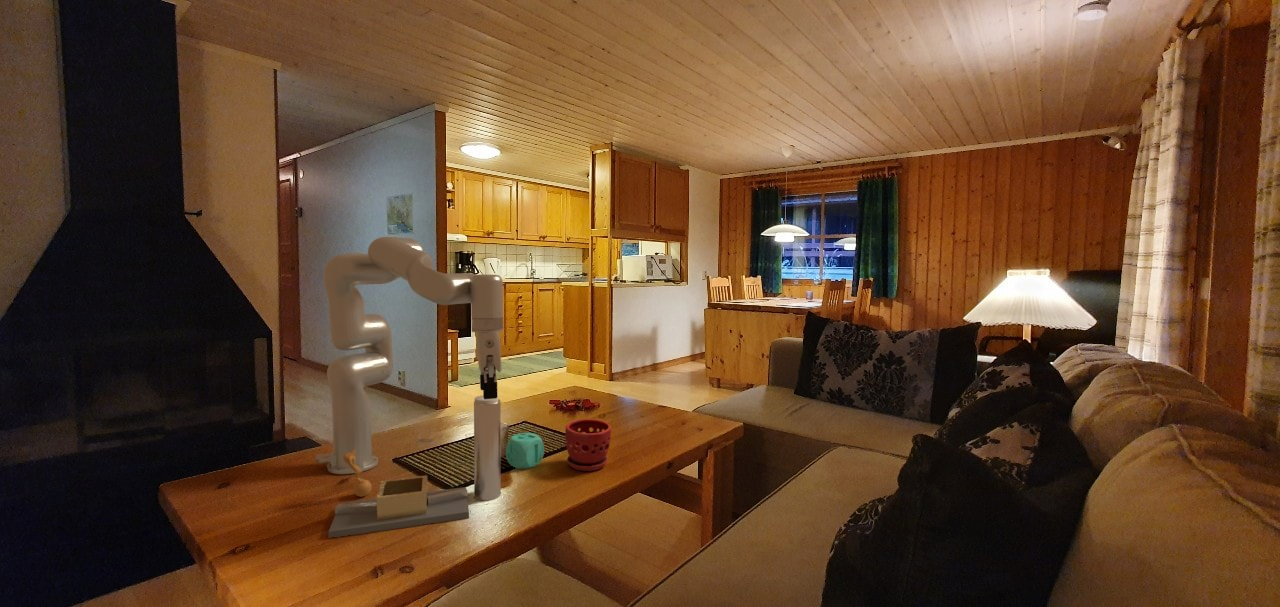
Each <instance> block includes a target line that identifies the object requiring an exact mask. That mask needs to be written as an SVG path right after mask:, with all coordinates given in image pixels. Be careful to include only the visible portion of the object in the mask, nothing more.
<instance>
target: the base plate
mask: <svg viewBox="0 0 1280 607" xmlns="http://www.w3.org/2000/svg"><path fill="white" fill-rule="evenodd" d="M464 488H466V489H467V487H465V486H464V487H456V488H448V489H441V490H433V491H427V496H430V495H435V494H440V493H445V492H449V491H454V490H459V489H464ZM375 502H377V497H376V498H370V499H363V500H362V499H361V500H355V501H354V500H353V501H346V502H345V501H344V502H340V503H339V504H354V503H375ZM469 510H470V509H469V502H468V496H467V497H465V498H460V499H456V500H451V501H447V502H442V503H437V504H433V505H428V504H427V514H422V515H415V516H407V517H400V518H393V519H386V520H379V521H377V512H374V513H354V514H335V513H334V517H333V520H332V522H331V525H330V526H329V527H330V528H329V530H328V539H329V538H330V539H332V538H331V537H337V538H342V537H341V536H344V537H349V536H348V535H351V536H355V535H364V534H368V533H369V534H370V533H376V532H377V533H378V532H384V531H390V530H397V529H403V528H405V529H406V528H410V527H419V526H424V525H425V524H426V525H432V524H431V523H433V524H437V523H438V524H439V523H444V522H446V523H447V522H452V521H458V520H467V519H469V518H470V511H469ZM423 524H424V525H423ZM418 525H419V526H418Z"/></svg>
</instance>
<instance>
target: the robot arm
mask: <svg viewBox="0 0 1280 607" xmlns="http://www.w3.org/2000/svg"><path fill="white" fill-rule="evenodd" d="M433 266H434V264H433V260H432V257H431V256H430V255H429V254H428V253H427V252H425V251H424V248H423V246H422V245H421V243H420V242H418V241H417V240H415V239H413V238H409V237H397V236H382V237H378V238H376V239H374V240H372V242H370V244H369V245H368V248H367V253H356V252H355V253H354V252H353V253H351V252H350V253H343V254H338V255H334V256H333V257H331V258H330V259H329V260H328V261H327V262H326V264H325V266H324V269H323V275H322V277H323V278H322V279H323V285H324V288H325V292H326V296H327V300H328V301H327V302H328V309H329V310H328V312H329V325H330V326H329V327H330V338H331V342H332V345H333V347H334V348H335V349H337V350H340V351H354V350H360V349H361V350H362V349H364V350H365V352H361V353H353V354H349V355H344V356H341V357H337V358H336V359H334V360H333V361H331V362H330V364H329V365H328V367H327V370H326V377H327V382H328V385H329V390H330V395H331V406H332V408H331V410H332V441H333V447H332V448H333V450H332V451H331V452H329V453H325V454H324V453H322V454H319V453H318V454H316V455H315V462H316V463H317V462H318V464H326V463H328V464H327V465H326V466H327V471H328V472H329V473H331V474H333V475H350V474H355V473H356V472H354V471H353V469H352V468H351V467H349V465H348V464H347V463H346V462H345V461H344V459H343V456H344V455H345V454H347V453H349V452H351V451H352V450H355V452H356V454H355V465H357V466H358V467H359V468H361V471H362V472H365V471H368V470H370V469H371V470H372V469H373V468H374V467H376V466H377V465H378V463H379V458H378V456H376V455H375V454H373V446H372V444H373V442H372V440H373V439H372V435H373V434H372V403H371V399H370V398H369V396H368V394H367V392H366V391H365V389H364V388H365V387H369V386H373V385H376V384H379V383H383V382H385V381H387V380H388V379H390V377H391V375H392V372H393V368H394V358H393V343H392V339H393V338H392V331H391V327H390V324H389V322H388V321H387V320H386V318H385V317H383V316H382V315H380V314H376V313H366V312H365V303H364V301H365V300H364V298H363V297H362V294H361V293H360V291H359V290H358V289H357V287H356V286H358V285H361V286H362V285H385V284H389V283H392V282H393V281H396V280H398V279H400V278H401V279H403V280H404V281H406V282H407V283H408V285H409V287H410V289H411V291H413V292H414V293H415V294H416V295H417V296H420V297H422V298H423V299H425V300H427V301H430V302H432V303H435V304H437V305H441V306H449V305H458V304H459V305H462V304H470V311H471V312H470V317H471V318H470V319H471V320H470V322H471V333H476V352H477V363H478V364H477V365H478V370H479V372H480V374H479V384H480V385H479V386H480V388H479V389H480V391H482V392H483V393H482V396H483V398H484V399H495V398H497V397H498V378H497V372H498V373H500V372H502V354H501V352H502V351H501V350H502V347H501V337H500V332H503V331H504V289H503V288H504V286H503V285H504V284H503V283H504V282H503V279H502V277H501V276H500V275H498V274H476V273H468V272H467V273H466V272H465V273H456V272H455V273H453V272H451V273H450V272H449V273H443V272H441V271H437V270H435V269H434V268H433ZM365 313H366V314H365Z"/></svg>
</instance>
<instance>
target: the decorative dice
mask: <svg viewBox="0 0 1280 607" xmlns="http://www.w3.org/2000/svg"><path fill="white" fill-rule="evenodd" d="M544 454H545V445H544V441H543V440H542V438H541V437H540V435H539V434H536V433H531V432H523V433H521V432H520V433H516V434H514V435H512V436H511V437H510V438H509V439H508V441H507V443H506V446H505V457H506V460H507V462H508V464H509V465H510V466H511V467H512V466H513V468H514V467H515V469H517V470H518V469H519V470H528V469H532V467H533V468H535V467H537V466H538V465H539V464H541V461H542V459H543V457H544Z"/></svg>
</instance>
